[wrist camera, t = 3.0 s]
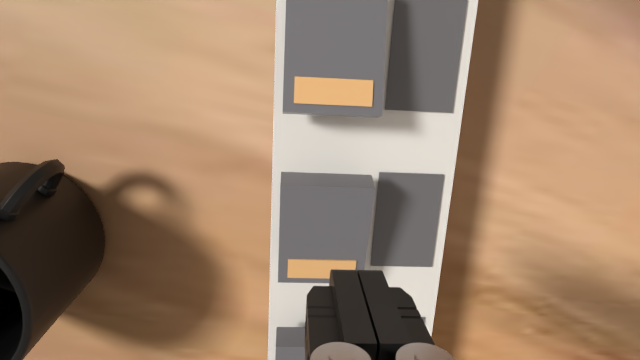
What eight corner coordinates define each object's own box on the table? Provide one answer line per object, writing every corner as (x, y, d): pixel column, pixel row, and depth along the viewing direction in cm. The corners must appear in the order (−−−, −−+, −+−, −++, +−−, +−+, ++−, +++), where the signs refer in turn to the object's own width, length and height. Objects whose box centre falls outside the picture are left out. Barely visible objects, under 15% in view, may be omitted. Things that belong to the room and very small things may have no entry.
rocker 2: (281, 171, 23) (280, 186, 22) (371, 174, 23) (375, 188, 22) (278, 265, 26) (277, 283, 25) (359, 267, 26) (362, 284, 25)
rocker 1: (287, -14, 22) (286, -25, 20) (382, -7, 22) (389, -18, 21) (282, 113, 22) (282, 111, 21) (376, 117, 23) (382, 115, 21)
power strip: (280, -67, 25) (278, -88, 21) (458, -54, 26) (489, -72, 22) (268, 389, 33) (265, 435, 29) (403, 389, 34) (418, 434, 30)
